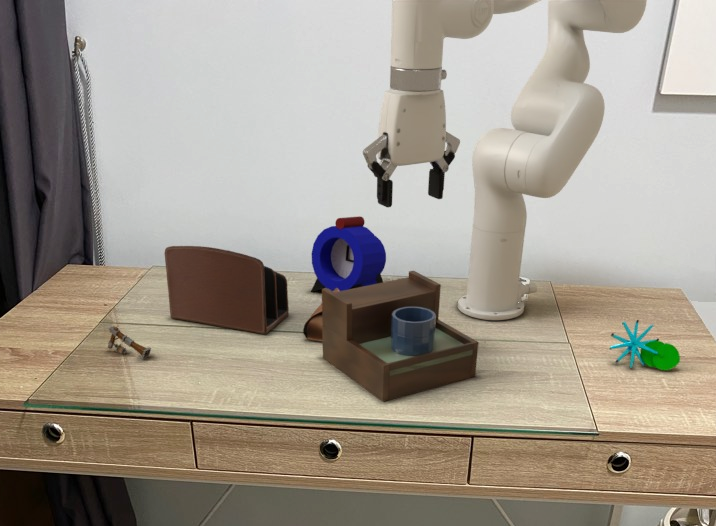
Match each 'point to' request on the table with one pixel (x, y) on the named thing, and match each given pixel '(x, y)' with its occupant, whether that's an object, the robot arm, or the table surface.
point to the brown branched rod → (128, 341)
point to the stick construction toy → (648, 350)
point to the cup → (413, 331)
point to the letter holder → (224, 289)
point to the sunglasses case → (315, 324)
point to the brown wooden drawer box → (373, 339)
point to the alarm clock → (347, 256)
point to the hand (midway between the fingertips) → (410, 201)
